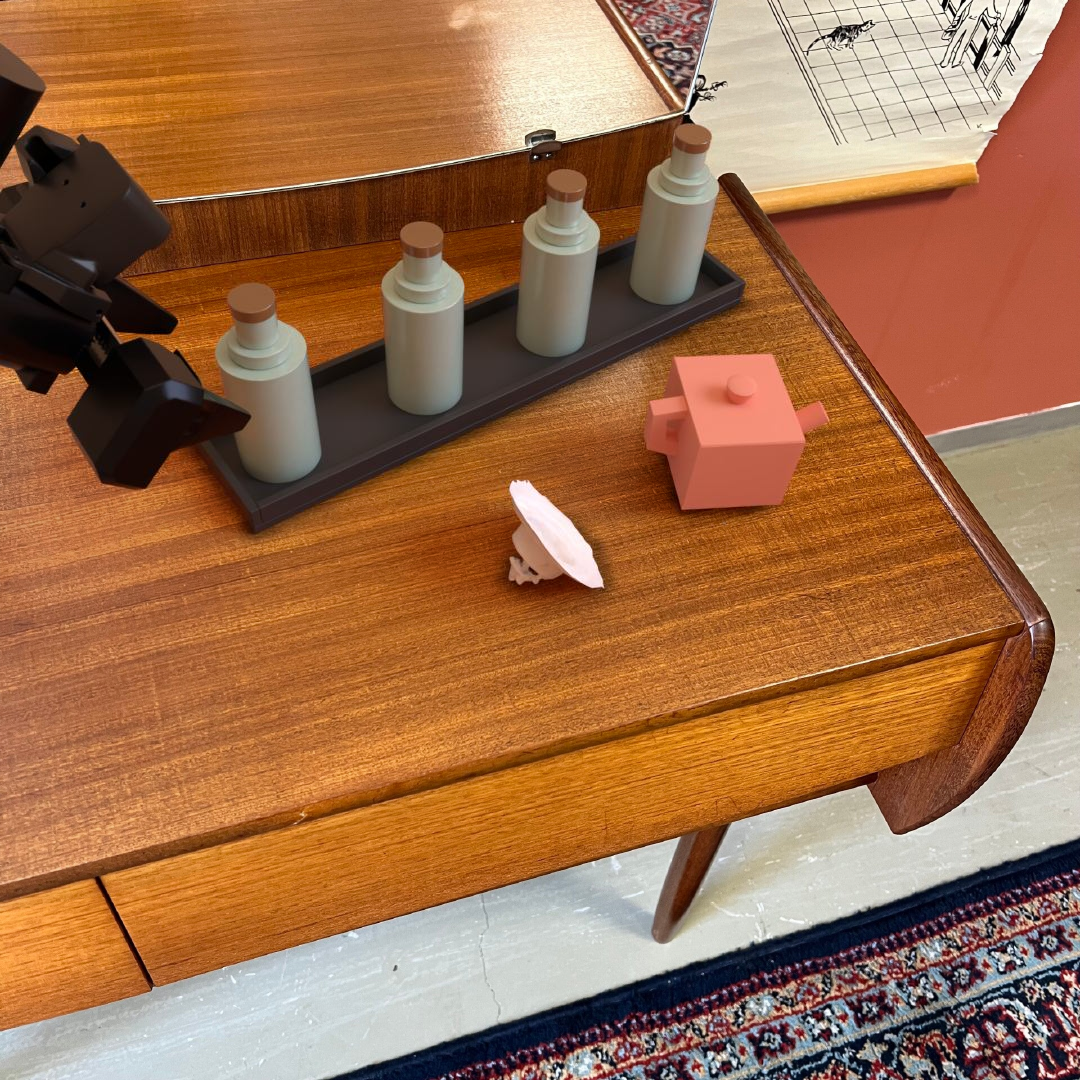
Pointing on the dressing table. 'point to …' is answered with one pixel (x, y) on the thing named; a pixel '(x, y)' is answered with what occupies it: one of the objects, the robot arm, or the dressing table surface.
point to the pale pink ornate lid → (548, 541)
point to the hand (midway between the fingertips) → (208, 372)
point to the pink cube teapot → (729, 430)
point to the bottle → (269, 388)
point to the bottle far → (675, 220)
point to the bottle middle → (557, 269)
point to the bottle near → (423, 324)
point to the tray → (488, 384)
